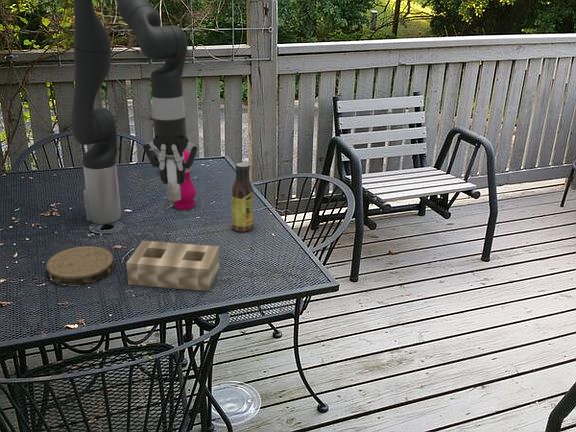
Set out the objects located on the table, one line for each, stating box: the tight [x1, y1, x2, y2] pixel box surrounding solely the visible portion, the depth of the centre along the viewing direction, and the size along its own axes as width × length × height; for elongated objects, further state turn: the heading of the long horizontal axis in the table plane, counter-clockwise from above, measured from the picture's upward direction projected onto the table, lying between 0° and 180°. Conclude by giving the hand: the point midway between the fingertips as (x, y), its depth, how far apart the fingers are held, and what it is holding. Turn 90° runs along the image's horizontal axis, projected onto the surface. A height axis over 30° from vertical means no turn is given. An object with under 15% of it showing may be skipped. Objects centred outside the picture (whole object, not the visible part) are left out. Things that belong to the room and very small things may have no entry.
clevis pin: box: [165, 154, 181, 202], centre depth 143 cm, size 4×4×12 cm
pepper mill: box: [174, 149, 196, 211], centre depth 182 cm, size 7×7×20 cm
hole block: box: [126, 240, 220, 292], centre depth 145 cm, size 20×12×6 cm, turn 84°
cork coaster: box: [46, 245, 115, 286], centre depth 147 cm, size 16×16×3 cm
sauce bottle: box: [231, 162, 254, 233], centre depth 168 cm, size 7×6×20 cm
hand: (173, 183), depth 144 cm, fingers closed on clevis pin, 3 cm apart
